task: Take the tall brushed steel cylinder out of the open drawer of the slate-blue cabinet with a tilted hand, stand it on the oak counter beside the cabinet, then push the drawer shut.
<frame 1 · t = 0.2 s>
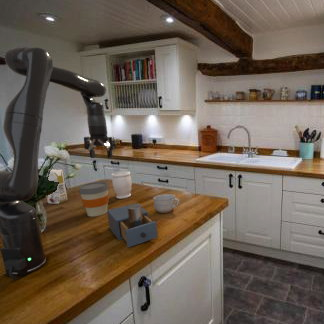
hand: (101, 157, 121), 29 cm above the worktop, tool pointing down, fingers open, 8 cm apart
brushed steel cylinder: (137, 233, 101), point 2 cm above the worktop, touching drawer
drawer: (137, 228, 101), point 4 cm above the worktop, slide at 9.0 cm, touching brushed steel cylinder
teacup: (167, 211, 129), on the worktop
jar: (123, 196, 152), on the worktop
cabinet: (129, 229, 110), on the worktop
juice carton: (57, 202, 144), on the worktop
reusable coffee cup: (97, 213, 128), on the worktop
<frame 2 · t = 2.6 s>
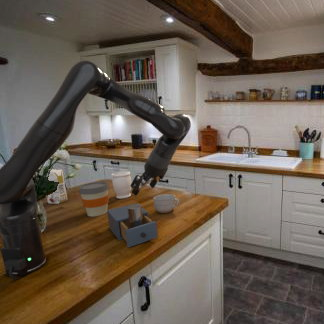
hand: (143, 190, 97), 21 cm above the worktop, tool tilted 40°, fingers open, 8 cm apart
nothing on the worktop moved.
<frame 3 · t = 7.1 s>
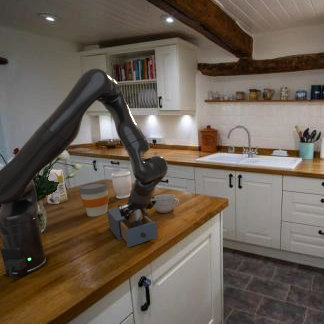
hand: (134, 215, 101), 10 cm above the worktop, tool tilted 45°, fingers closed on brushed steel cylinder, 5 cm apart
brushed steel cylinder: (137, 233, 101), point 2 cm above the worktop, touching drawer, gripper
everything else where it was.
when the fingers open (8 cm above the worktop, at t = 15.9 s): brushed steel cylinder stays where it is, on the worktop.
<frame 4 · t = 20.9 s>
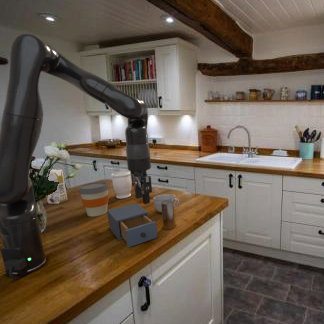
hand: (142, 200, 90), 20 cm above the worktop, tool pointing down, fingers open, 7 cm apart
brushed steel cylinder: (169, 226, 112), on the worktop
drawer: (137, 228, 101), point 4 cm above the worktop, slide at 9.0 cm
everything else where it was.
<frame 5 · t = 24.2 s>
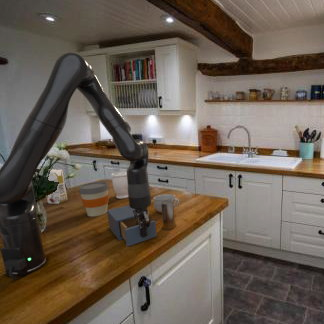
hand: (144, 236, 95), 4 cm above the worktop, tool pointing down, fingers closed
drawer: (136, 228, 101), point 4 cm above the worktop, slide at 8.1 cm, touching gripper
everything else where it was.
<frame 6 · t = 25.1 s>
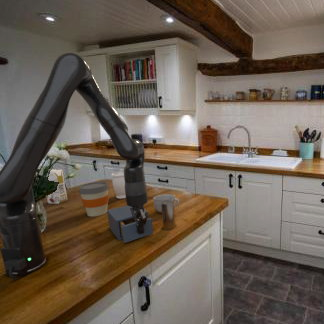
hand: (140, 233, 97), 4 cm above the worktop, tool pointing down, fingers closed
drawer: (133, 225, 104), point 4 cm above the worktop, slide at 4.5 cm, touching gripper
everything else where it was.
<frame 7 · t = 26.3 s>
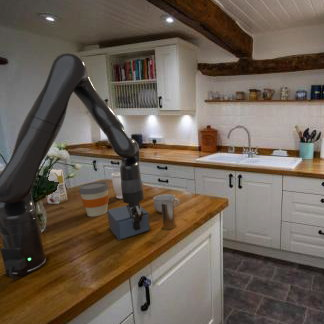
hand: (136, 229, 101), 4 cm above the worktop, tool pointing down, fingers closed
drawer: (130, 221, 107), point 4 cm above the worktop, slide at 0.0 cm, touching cabinet, gripper
everything else where it was.
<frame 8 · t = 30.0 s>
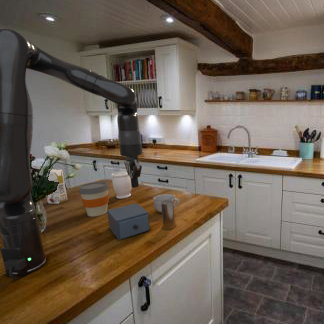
hand: (135, 187, 94), 23 cm above the worktop, tool pointing down, fingers closed
drawer: (130, 221, 107), point 4 cm above the worktop, slide at 0.0 cm, touching cabinet
everything else where it was.
at the end: brushed steel cylinder inside the target area (0.2 cm from its centre), on the worktop; brushed steel cylinder tilted 0°; drawer slide at 0.0 cm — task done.
